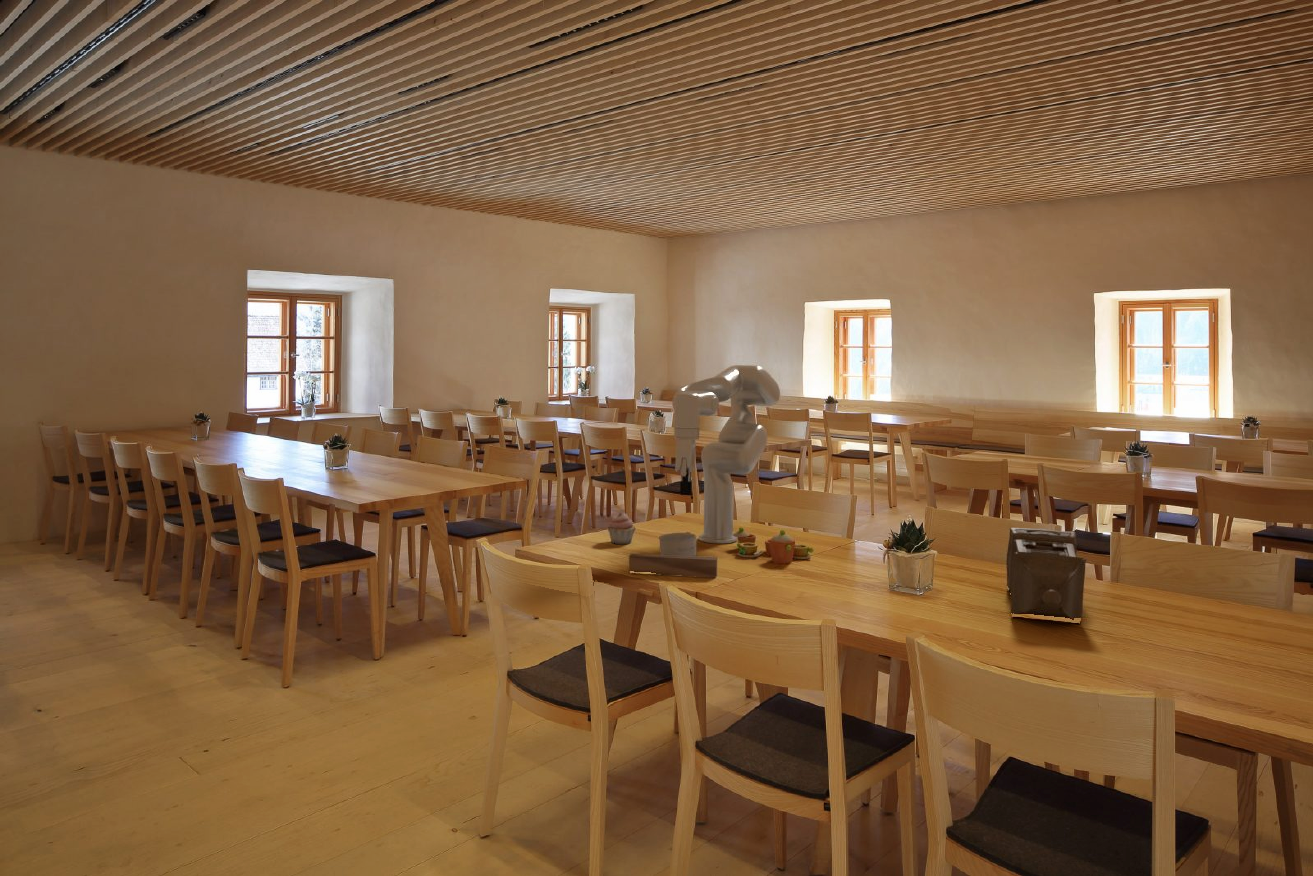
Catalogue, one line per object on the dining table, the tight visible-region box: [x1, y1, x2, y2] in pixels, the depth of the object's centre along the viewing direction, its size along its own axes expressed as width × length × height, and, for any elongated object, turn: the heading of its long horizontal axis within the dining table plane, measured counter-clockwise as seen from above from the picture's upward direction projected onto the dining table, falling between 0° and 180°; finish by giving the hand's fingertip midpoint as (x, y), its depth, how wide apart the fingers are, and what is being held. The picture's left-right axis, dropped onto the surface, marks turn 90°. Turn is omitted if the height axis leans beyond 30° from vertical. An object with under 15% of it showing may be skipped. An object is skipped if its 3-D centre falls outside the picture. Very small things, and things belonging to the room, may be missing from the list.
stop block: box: [628, 553, 718, 579], centre depth 250 cm, size 3×24×5 cm, turn 81°
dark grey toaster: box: [1005, 527, 1087, 620], centre depth 217 cm, size 35×18×18 cm, turn 160°
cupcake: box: [606, 511, 637, 545], centre depth 289 cm, size 9×9×10 cm
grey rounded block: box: [658, 531, 697, 556], centre depth 265 cm, size 14×11×8 cm
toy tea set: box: [733, 526, 815, 564], centre depth 273 cm, size 26×16×10 cm, turn 54°
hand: (685, 494), depth 274 cm, fingers closed
